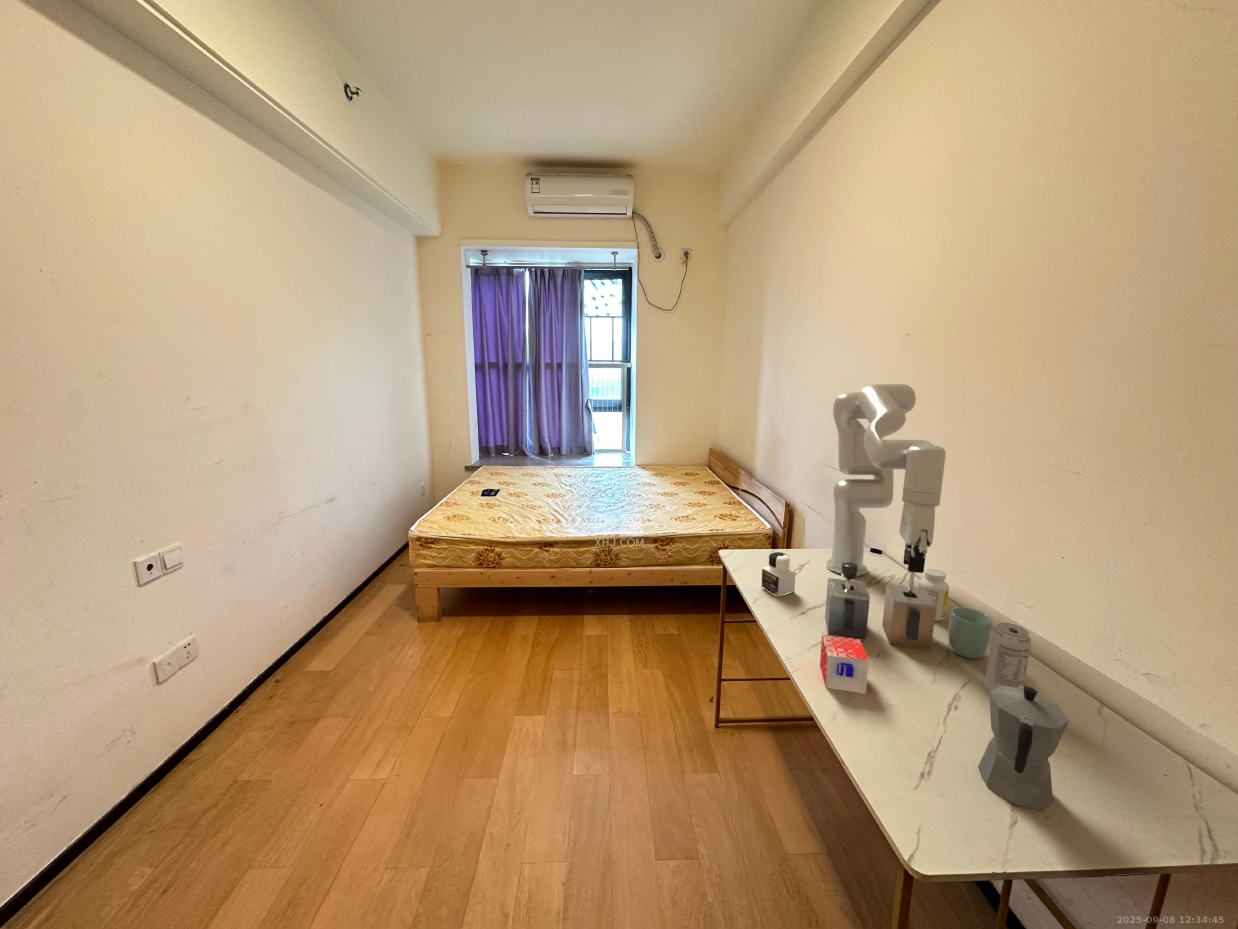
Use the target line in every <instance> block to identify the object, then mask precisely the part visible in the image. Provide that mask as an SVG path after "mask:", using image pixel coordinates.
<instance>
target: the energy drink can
mask: <svg viewBox="0 0 1238 929" xmlns="http://www.w3.org/2000/svg"><path fill="white" fill-rule="evenodd" d="M1029 634H1030V633H1029V631H1028V630H1027V629H1025V627H1022V626H1020V625H1017V624H1015V623H1010V622H999V623H997V625H996V627H995V628H994V629H992V632H991V638H990V644H989V651H988V652H989V653H988V660H987V665H986V673H985V677H984V686H985V688H986V691H987V692H988V693H989V692H990V691H992V690H994V689H996V688H998V687H999V686H1001V685H1003V686H1009V687H1014V688H1017V687H1018V686H1020V685H1025V681H1026V677H1027V675H1026V674H1027V670H1028V665H1029V658H1030V652H1031V648H1032V640H1031V638H1030V636H1029Z"/></svg>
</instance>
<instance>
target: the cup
mask: <svg viewBox="0 0 1238 929" xmlns="http://www.w3.org/2000/svg"><path fill="white" fill-rule="evenodd" d="M949 614H950V615H949V620H948V632H947V633H948V634H947V636H948V637H947V638H948V644H949V647H950V648H951V649H952V650H953V651H954V652H955V653H956V654H958V655H959V656H961V657H964V658H967V659H980V658H982V657H984V656H985V654H987V651H988V649H989V648H990V644H991V638H992V632H993V624H994V621H993V619H992V617H990V615H989V614H987V613H985V612H983V611H981V610H978V609H975V608H971V607H964V606H960V607H959V606H957V607H953V608H951V610H950V613H949Z"/></svg>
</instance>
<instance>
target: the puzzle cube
mask: <svg viewBox="0 0 1238 929" xmlns="http://www.w3.org/2000/svg"><path fill="white" fill-rule="evenodd" d="M820 646H821V647H820V658H819V660H820V661H819V667H820V671H821V675H822V678H823V683H824V686H825V688H826V689H827V688H828V689H834V690H840V691H846V692H847V691H848V692H854V693H860V694H865V695H866V694H867V686H868V675H869V674H868V673H869V668H870V667H869V664H870V659H869V657H868V656H867V652H866V650H865V647H864V645H863V643H862V641H861V640H860V639H854V638H847V637H841V636H834V635H828V634H827V635H826V634H822V635H821V645H820Z"/></svg>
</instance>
